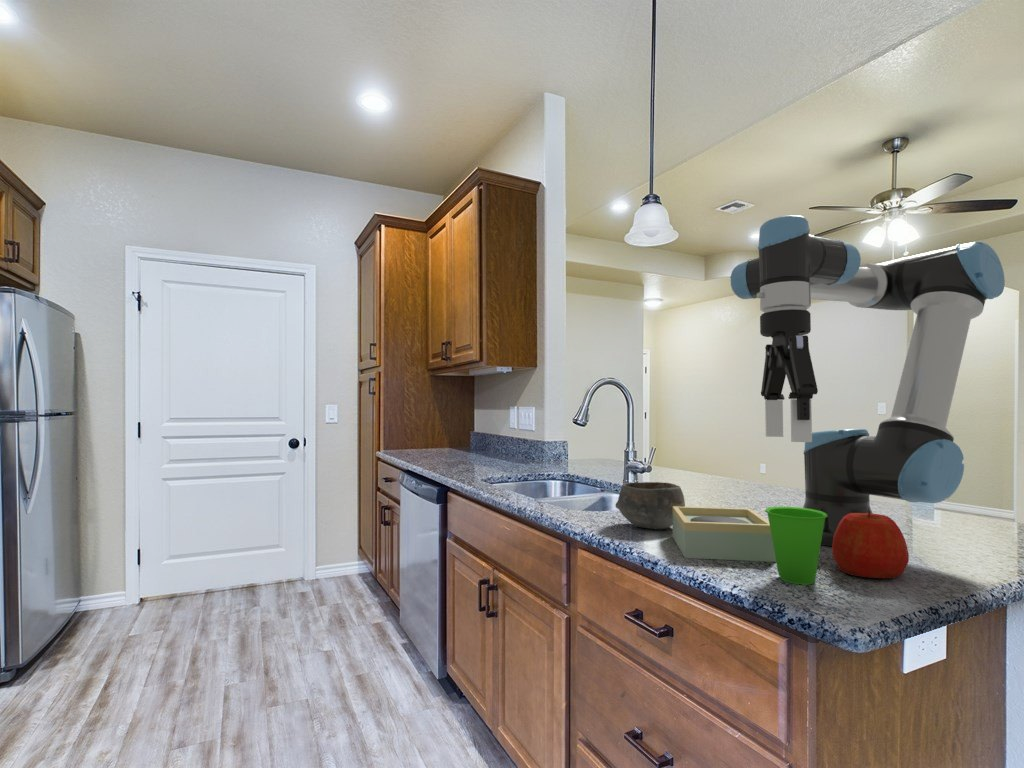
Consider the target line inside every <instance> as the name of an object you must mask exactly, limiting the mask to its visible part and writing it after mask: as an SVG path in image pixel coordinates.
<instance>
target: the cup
mask: <svg viewBox="0 0 1024 768" xmlns="http://www.w3.org/2000/svg"><path fill="white" fill-rule="evenodd" d="M764 512H765V513H767V518H768V521H769V524H770V529H771V535H772V540H773V546H774V551H775V557H776V562H775V563H776V566H777V571H778V576H779V577H780V580H782V581H783V580H784V581H783V582H786V581H787V582H786V583H789V582H790V584H793V583H794V585H799V584H802V586H807V585H808V586H809V584H810V585H813V584H814V583H815V581H816V579H817V578H816V576H817V571H818V565H819V559H820V558H819V557H820V552H821V551H820V550H821V540H822V534H823V528H824V521H825V518H826V517H828V515H827V514H826V513H824V512H822V511H818V510H813V509H807V508H803V507H798V506H770V507H766V508H765V510H764Z"/></svg>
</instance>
